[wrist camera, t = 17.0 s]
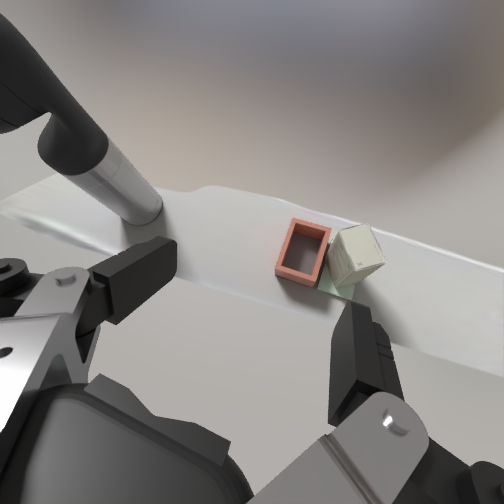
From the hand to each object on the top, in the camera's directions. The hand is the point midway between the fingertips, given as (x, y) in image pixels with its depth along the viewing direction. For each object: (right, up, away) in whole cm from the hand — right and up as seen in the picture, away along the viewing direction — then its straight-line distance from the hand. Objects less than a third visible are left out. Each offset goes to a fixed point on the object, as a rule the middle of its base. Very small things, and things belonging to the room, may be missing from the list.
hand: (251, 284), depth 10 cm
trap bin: (+9, +1, +34) cm, 35 cm away
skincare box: (+16, -2, +32) cm, 35 cm away
